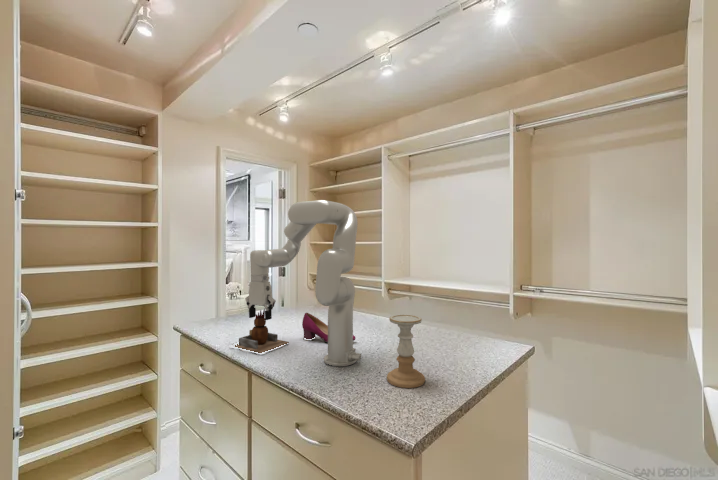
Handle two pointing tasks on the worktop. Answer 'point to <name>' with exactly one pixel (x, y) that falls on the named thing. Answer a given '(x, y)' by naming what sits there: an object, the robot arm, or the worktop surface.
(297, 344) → the worktop surface
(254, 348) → the board
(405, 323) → the candle holder
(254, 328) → the wooden figurine
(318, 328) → the high heel
